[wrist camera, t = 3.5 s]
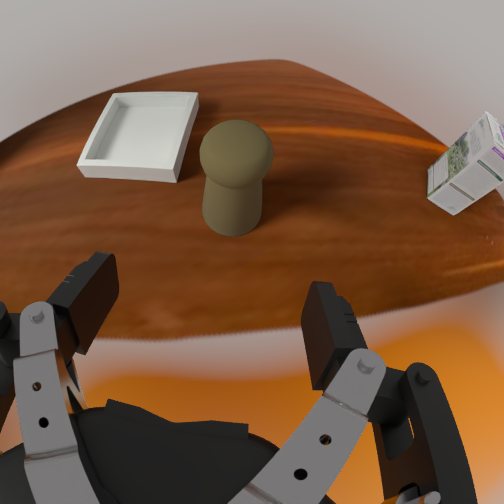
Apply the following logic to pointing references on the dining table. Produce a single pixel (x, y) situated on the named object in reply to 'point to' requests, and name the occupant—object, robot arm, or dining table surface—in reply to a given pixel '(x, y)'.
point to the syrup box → (468, 167)
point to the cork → (234, 175)
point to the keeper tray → (141, 136)
